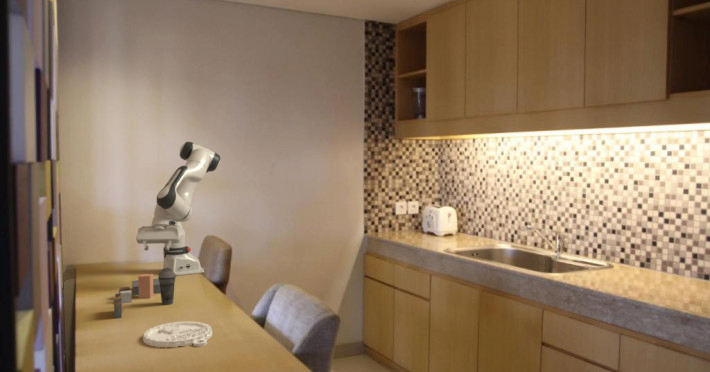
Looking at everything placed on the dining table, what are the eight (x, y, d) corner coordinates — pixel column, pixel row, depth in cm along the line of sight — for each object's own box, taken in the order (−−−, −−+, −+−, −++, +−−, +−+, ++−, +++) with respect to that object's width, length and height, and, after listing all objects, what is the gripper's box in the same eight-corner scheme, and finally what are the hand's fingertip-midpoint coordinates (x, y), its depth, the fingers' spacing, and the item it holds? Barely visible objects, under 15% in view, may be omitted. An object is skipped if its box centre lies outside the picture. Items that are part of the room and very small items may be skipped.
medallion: (187, 323, 218) (187, 317, 218) (231, 338, 201) (231, 331, 201) (130, 339, 200) (130, 332, 200) (173, 356, 183) (173, 349, 183)
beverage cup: (170, 306, 241) (169, 259, 240) (155, 305, 243) (154, 259, 242) (179, 301, 248) (178, 256, 247) (164, 300, 250) (163, 256, 249)
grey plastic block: (131, 300, 251) (131, 290, 251) (131, 302, 247) (131, 292, 247) (120, 301, 250) (120, 291, 249) (120, 303, 246) (120, 293, 245)
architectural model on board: (122, 318, 225) (122, 294, 224) (114, 319, 223) (113, 295, 223) (123, 311, 235) (122, 288, 235) (115, 312, 234) (114, 288, 233)
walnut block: (130, 296, 258) (129, 286, 258) (130, 298, 254) (130, 288, 254) (119, 297, 256) (119, 287, 256) (119, 299, 252) (119, 289, 252)
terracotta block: (142, 295, 259) (141, 274, 259) (153, 295, 259) (153, 273, 259) (138, 298, 254) (138, 276, 254) (150, 298, 254) (149, 276, 254)
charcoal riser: (161, 286, 276) (160, 278, 276) (162, 292, 264) (162, 284, 264) (132, 289, 271) (132, 280, 271) (133, 295, 259) (132, 286, 259)
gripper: (137, 222, 274) (132, 245, 265) (181, 222, 276) (177, 245, 267) (140, 230, 278) (135, 253, 269) (183, 230, 281) (179, 253, 271)
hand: (156, 249), depth 268 cm, fingers open, 8 cm apart
